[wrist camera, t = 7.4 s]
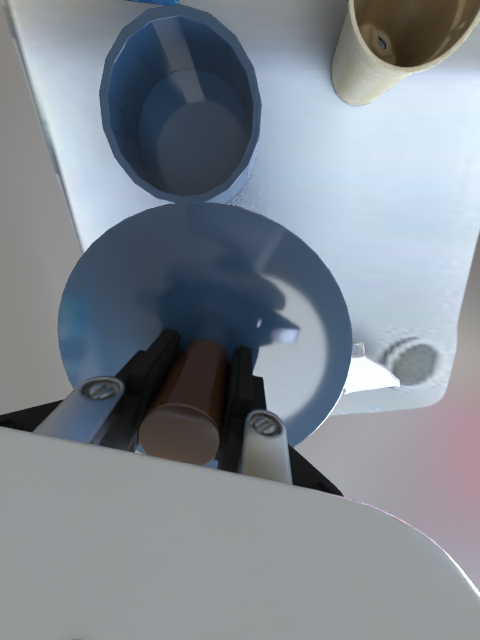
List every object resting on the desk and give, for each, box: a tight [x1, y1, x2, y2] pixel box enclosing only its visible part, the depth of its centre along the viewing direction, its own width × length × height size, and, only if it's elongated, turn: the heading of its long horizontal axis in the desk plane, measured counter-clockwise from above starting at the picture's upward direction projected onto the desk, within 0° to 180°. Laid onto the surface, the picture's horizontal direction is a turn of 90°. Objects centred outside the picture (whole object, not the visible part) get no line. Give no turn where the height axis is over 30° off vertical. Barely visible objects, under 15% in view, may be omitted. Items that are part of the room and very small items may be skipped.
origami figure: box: [343, 342, 400, 395], centre depth 32 cm, size 12×8×5 cm
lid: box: [58, 202, 353, 469], centre depth 10 cm, size 14×14×6 cm
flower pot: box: [331, 0, 480, 105], centre depth 20 cm, size 9×9×9 cm
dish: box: [99, 4, 262, 204], centre depth 23 cm, size 13×14×6 cm
